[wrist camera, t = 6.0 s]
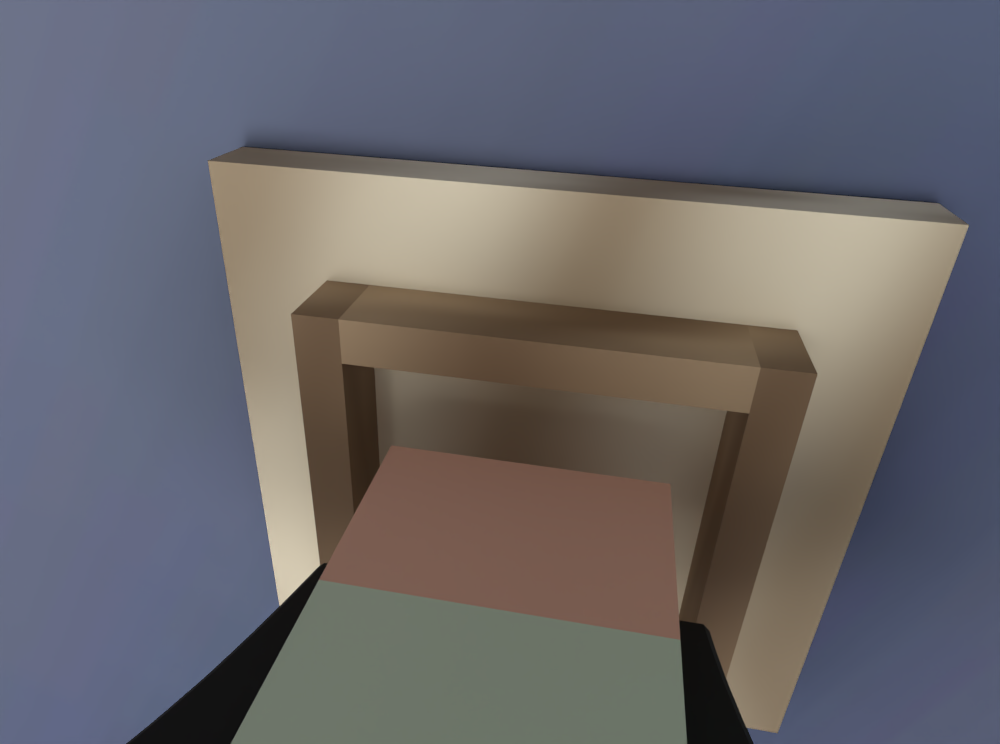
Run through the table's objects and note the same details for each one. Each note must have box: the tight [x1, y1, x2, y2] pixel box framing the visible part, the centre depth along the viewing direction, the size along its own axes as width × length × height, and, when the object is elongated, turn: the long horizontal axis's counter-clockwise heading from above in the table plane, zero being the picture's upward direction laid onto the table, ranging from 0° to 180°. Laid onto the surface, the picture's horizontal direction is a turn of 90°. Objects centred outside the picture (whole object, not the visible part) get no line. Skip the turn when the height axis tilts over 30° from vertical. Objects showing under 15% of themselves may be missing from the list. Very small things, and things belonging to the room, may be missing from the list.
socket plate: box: [208, 147, 969, 733], centre depth 14 cm, size 12×12×3 cm
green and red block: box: [231, 445, 687, 744], centre depth 10 cm, size 4×4×6 cm
